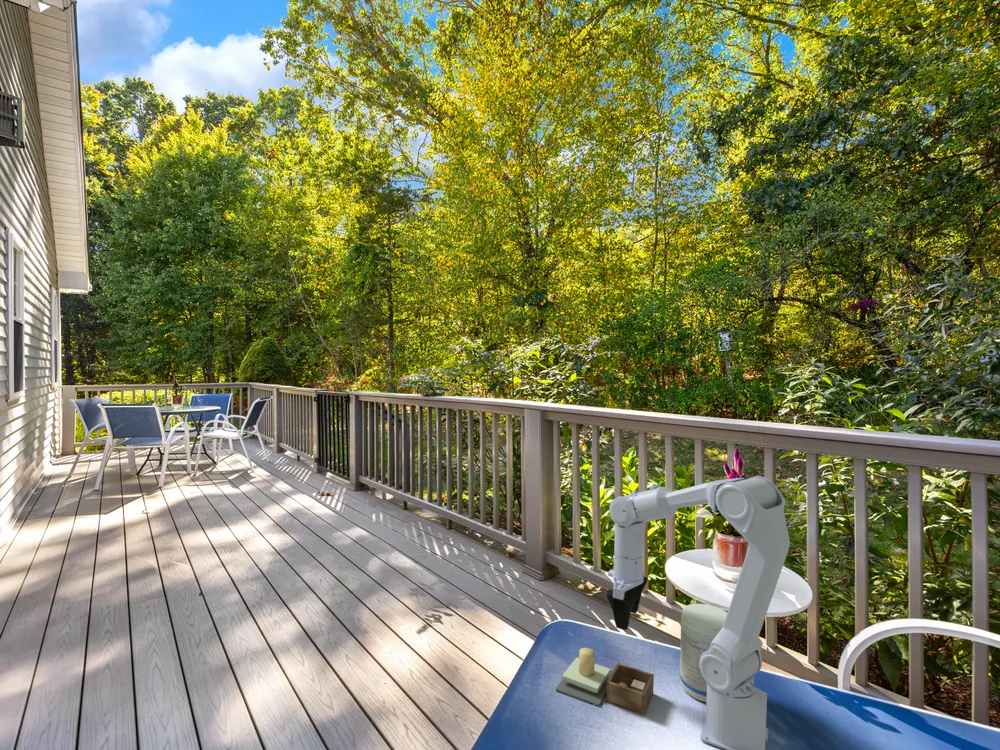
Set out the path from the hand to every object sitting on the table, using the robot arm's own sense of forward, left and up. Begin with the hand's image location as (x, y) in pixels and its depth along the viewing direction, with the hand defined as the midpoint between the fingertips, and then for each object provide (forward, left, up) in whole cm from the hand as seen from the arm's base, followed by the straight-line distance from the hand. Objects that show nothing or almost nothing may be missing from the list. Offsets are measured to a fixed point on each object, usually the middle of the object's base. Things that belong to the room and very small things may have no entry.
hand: (626, 619), depth 102 cm
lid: (+6, +8, -10) cm, 14 cm away
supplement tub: (-15, -2, -11) cm, 19 cm away
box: (-3, +8, -11) cm, 14 cm away
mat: (+6, +8, -10) cm, 14 cm away
